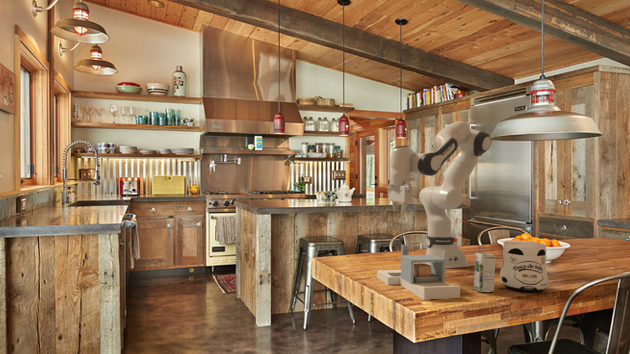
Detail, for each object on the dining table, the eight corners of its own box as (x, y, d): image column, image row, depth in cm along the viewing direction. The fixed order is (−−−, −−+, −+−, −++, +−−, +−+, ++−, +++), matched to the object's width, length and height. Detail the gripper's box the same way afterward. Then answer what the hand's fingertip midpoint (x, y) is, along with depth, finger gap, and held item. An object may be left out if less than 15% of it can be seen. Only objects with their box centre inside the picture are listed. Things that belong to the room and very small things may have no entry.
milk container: (527, 296, 164) (528, 248, 164) (490, 285, 180) (491, 241, 180) (558, 292, 172) (559, 245, 172) (520, 281, 187) (521, 239, 187)
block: (425, 278, 178) (425, 263, 178) (431, 281, 173) (431, 266, 173) (413, 278, 177) (414, 263, 177) (419, 281, 172) (419, 266, 172)
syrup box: (473, 289, 174) (474, 252, 174) (487, 289, 174) (488, 252, 174) (480, 293, 168) (480, 255, 168) (495, 292, 169) (495, 255, 169)
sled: (413, 268, 194) (414, 244, 194) (439, 281, 172) (439, 253, 172) (392, 269, 192) (392, 244, 192) (415, 282, 170) (415, 254, 170)
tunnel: (432, 276, 181) (433, 254, 181) (444, 282, 171) (445, 259, 171) (400, 277, 178) (401, 255, 178) (410, 283, 168) (411, 260, 168)
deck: (418, 276, 195) (418, 265, 195) (460, 298, 160) (460, 286, 160) (377, 277, 191) (377, 266, 191) (410, 300, 156) (411, 288, 156)
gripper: (416, 182, 189) (415, 214, 189) (398, 181, 209) (397, 210, 209) (402, 181, 187) (401, 214, 188) (385, 180, 208) (384, 210, 208)
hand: (399, 212), depth 198 cm, fingers open, 8 cm apart
